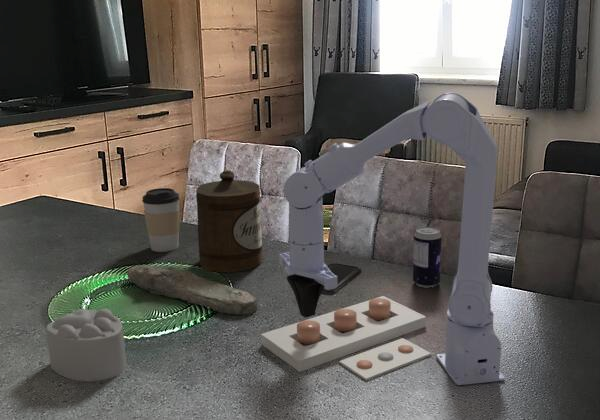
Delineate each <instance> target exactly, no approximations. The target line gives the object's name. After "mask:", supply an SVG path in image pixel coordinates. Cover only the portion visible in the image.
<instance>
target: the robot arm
mask: <svg viewBox="0 0 600 420" xmlns="http://www.w3.org/2000/svg"><path fill="white" fill-rule="evenodd" d="M430 103H431V100H428V101H426V102H424V103H421V104H419V105H417V106H414V107H413V108H411V109H409V110H407V111H405V112H403V113H401V114H400V115H398V116H397V117H396V118H394V119H392V120H391V121H389V122H388V123H386V124H385V125H383V126H382V127H380V128H379V129H378V130H376V131H374V132H373V133H371V134H370V135H368V136H367V137H365V138H364V139H362V140H361V141H359V142H358V143H356V144H353V143H349V142H341V143H340V144H338V143H336V142H335V143H333V144H332V145H330V146H328V148H327V149H328V151H327V152H326V153H324V154H323V155H321V156H319V157H317V158H316V159H314V160H312V159H309V160H308V161H306V162H304V166H302V167H300V168H299V169H298V170H296V171H295V172H293V173H292V174H291V175H290V176H288V178H287V179H286V180H285V182H284V184H283V195H284V198H285V200H286V201H287V202H288V237H289V239H288V240H289V241H288V243H289V251H287V252H282V253H279V254H278V257H279V258H278V261H279V265H280V266H282V267H283V266H285V267H284V273H285V274H287V276H286V281H287V282H288V284H289V285H290V287H291V289H292V291H293V293H294V296H295V300H296V303H297V306H298V310H299V314H300V315H301V316H302V317H303V318H305V319H306V318H309V317H312V316H315V315H316V311H317V306H318V303H319V300H320V296H321V294H322V293H321V292H322V290H323V288H325V289H327V290H330V289H333V288H337V276H336V275H334V274H333V273H332V272H331V271H330V269H329V268H328V267H327V266H328V265H327V264H326V263H325V254H324V253H325V246H324V245H325V243H324V242H325V241H324V240H325V239H324V205H323V203H324V202H323V199H324V198H323V196H324V195H325V194H329V193H330V194H331V192H333V191H335V190H337V189H338V188H340V187H341V186H344V185H345V184H347V183H349V182H350V181H351V180H353V179H355V178H357V177H358V176H360V175H362V174H363V172H364V169H365V164H366V162H368V161H370V160H371V159H373V158H375V157H377V156H379V155H380V154H382V153H383V152H386V151H387V150H389V149H391V148H394V146H397V145H398V144H399V143H402V142H404V141H405V140H418V141H424V140H426V138H427V136H428V137H429V138H430V139H431V140H432V141H434V142H436V143H438V144H439V145H443V146H445V147H447V148H449V149H451V150H452V151H453V152H454V153H455V154H456V155H457V156H458V157H459V158H461V160H463V161H464V163H465V169H464V179H463V180H464V183H463V194H462V195H463V196H462V197H463V198H462V210H461V224H460V235H459V237H460V239H459V251H458V254H459V255H458V262H457V263H458V264H457V273H456V274H455V276H454V277H453V279H452V280H453V281H452V290H451V294H450V297H449V298H448V304H447V307H448V308H447V310H446V328H445V329H446V330H445V331H446V333H445V352H444V353H437V354H436V356H435V358H436V359H437V360H438V361H439V363H440V364H441V366H442V367H443V369H444V370H445V371H446V372H447V374H448V375H449V377H450V378H451V380H452V381H453V382H454V383H455V385H457V386H464V385H474V384H483V383H491V382H503V381H505V376H504V375H503V373H502V372H501V371H500V370H501V368H500V367H501V355H502V344H501V341H500V339H499V337H498V335H497V334H496V331H495V329H494V312H493V311H492V306H491V304H492V303H491V298H492V291H493V282H492V279H491V277H490V275H489V257H490V245H491V235H492V234H491V233H492V222H493V211H494V198H495V186H496V174H497V163H498V154H499V153H498V144H497V142H496V141H495V139H494V137H493V135H492V134H491V131H490V130H489V128H488V127H487V125H486V123H485V121H484V120H483V118H482V117H481V114H480V112H479V110H478V108H477V107H476V106H475V105H474V104H473V103H472V102H470V101H469V100H468V99H467V98H465V97H464V96H463V95H462V94H459V93H457V92H446V93H442V94H440V95H439V96H437V97H435V99H434V100H433V101H432V103H431V104H430ZM429 104H430V105H429Z"/></svg>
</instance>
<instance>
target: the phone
mask: <svg viewBox="0 0 600 420" xmlns="http://www.w3.org/2000/svg"><path fill="white" fill-rule="evenodd" d="M326 266H327V267H328V268H329V269H330V271H331V272H332V273H333V274H334V275H336V276H337V288H333V289H330V290H327V289H325V288H323V290H322V292H321V294H327V295H333V294H336V293H337V292H338V291H339V290H341V289H342V288H343V287H344V286H346V285H347V284H348V283H350V282H351V281H352V280H353V279H355V278H356V277H357V276H358V275H359V274H361V273H362V268H361V267H360V266H354V265H348V264H342V263H336V262H335V263H334V262H333V263H329V264H328V265H326Z"/></svg>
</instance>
